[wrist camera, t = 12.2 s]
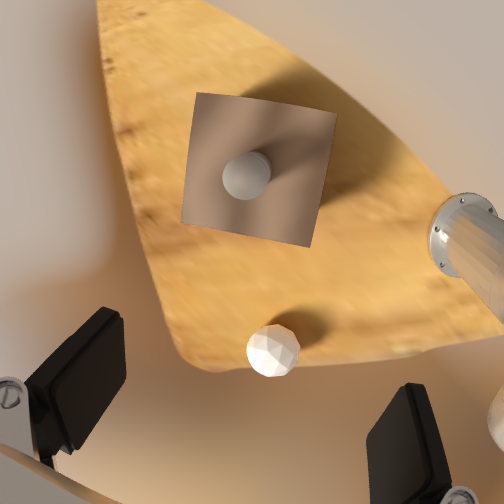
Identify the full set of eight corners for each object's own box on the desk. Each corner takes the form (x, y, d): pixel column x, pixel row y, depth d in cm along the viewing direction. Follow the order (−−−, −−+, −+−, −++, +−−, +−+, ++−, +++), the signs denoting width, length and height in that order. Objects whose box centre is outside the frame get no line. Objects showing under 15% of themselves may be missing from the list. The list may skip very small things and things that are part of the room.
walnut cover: (324, 119, 37) (347, 109, 20) (306, 213, 42) (312, 273, 25) (226, 103, 38) (174, 84, 21) (213, 195, 42) (157, 242, 25)
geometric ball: (289, 324, 51) (318, 357, 45) (254, 358, 51) (279, 392, 45) (266, 305, 46) (297, 340, 40) (227, 342, 46) (253, 381, 40)
